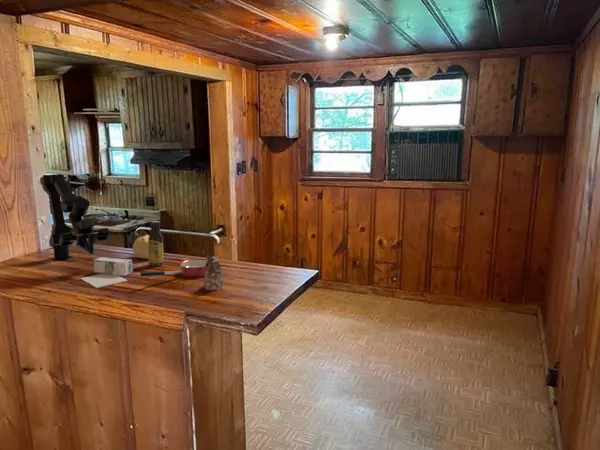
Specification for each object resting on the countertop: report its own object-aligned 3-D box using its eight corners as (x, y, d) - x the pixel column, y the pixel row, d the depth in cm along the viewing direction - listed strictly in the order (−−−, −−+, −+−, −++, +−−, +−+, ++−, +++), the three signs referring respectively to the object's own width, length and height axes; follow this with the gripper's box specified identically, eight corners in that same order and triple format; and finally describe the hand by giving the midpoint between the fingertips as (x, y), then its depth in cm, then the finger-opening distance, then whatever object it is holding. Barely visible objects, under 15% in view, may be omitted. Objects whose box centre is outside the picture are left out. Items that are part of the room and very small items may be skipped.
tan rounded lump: (155, 260, 199) (154, 238, 197) (129, 260, 200) (128, 237, 198) (163, 254, 211) (162, 233, 209) (139, 254, 211) (137, 232, 209)
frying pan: (158, 293, 157) (157, 276, 155) (135, 286, 163) (134, 270, 162) (218, 271, 183) (218, 257, 182) (196, 267, 190) (196, 253, 189)
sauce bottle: (145, 266, 191) (143, 221, 187) (155, 262, 196) (153, 219, 193) (157, 267, 188) (155, 222, 185) (167, 264, 194) (164, 220, 190)
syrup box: (101, 269, 183) (133, 272, 181) (93, 273, 178) (125, 276, 175) (101, 256, 183) (133, 259, 180) (92, 259, 177) (125, 262, 174)
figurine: (214, 291, 159) (213, 259, 157) (200, 287, 163) (198, 257, 160) (227, 286, 165) (226, 255, 163) (213, 282, 169) (212, 253, 166)
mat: (80, 278, 172) (80, 278, 172) (110, 272, 181) (110, 271, 181) (96, 288, 161) (96, 287, 161) (127, 281, 170) (127, 280, 170)
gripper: (58, 213, 170) (71, 245, 164) (106, 209, 183) (119, 238, 178) (53, 230, 176) (66, 262, 171) (100, 224, 190) (112, 253, 184)
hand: (92, 253), depth 176 cm, fingers closed
